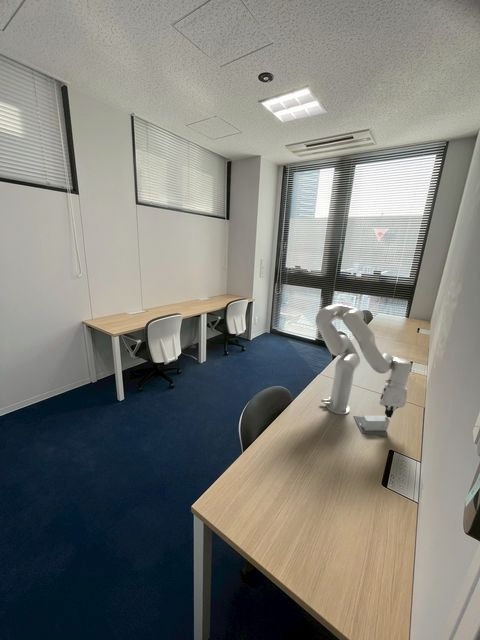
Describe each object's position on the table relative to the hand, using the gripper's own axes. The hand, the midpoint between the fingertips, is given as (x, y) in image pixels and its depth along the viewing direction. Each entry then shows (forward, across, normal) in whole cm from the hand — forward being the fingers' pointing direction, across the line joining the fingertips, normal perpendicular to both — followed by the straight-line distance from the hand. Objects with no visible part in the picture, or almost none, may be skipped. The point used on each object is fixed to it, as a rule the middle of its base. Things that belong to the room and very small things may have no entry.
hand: (388, 415), depth 131 cm
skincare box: (+4, 0, 0) cm, 4 cm away
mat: (+8, -8, 0) cm, 11 cm away
